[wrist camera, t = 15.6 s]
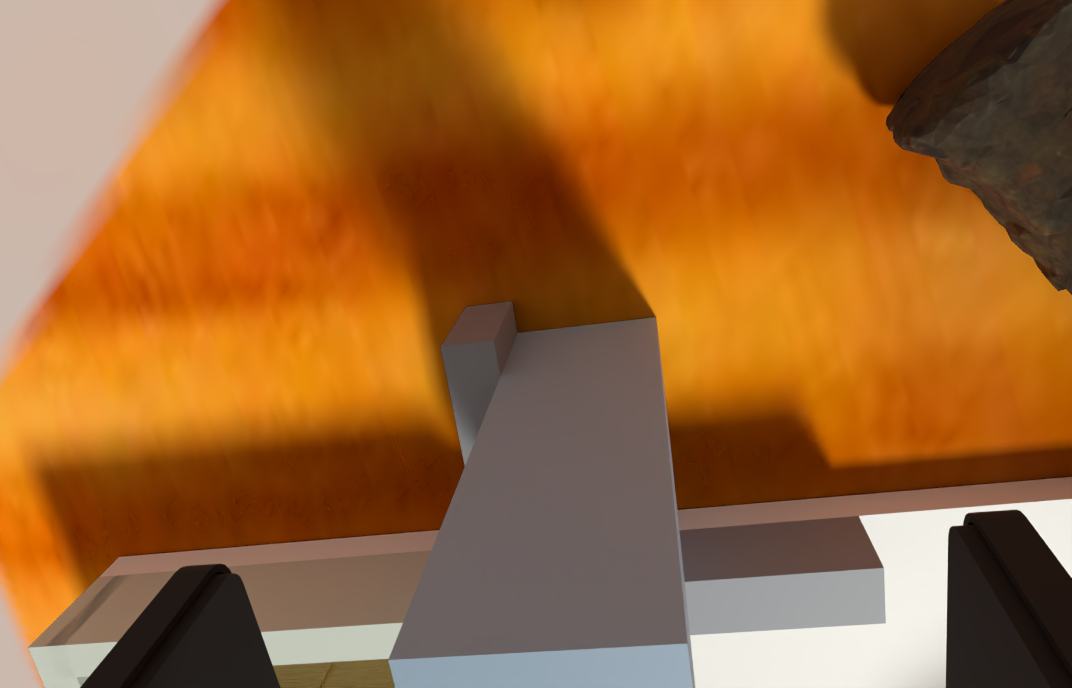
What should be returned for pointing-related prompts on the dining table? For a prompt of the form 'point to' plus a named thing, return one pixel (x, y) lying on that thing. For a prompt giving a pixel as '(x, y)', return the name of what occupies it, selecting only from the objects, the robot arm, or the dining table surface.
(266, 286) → the dining table surface
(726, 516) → the slot board
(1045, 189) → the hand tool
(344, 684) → the block
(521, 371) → the block with small nub
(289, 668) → the block
